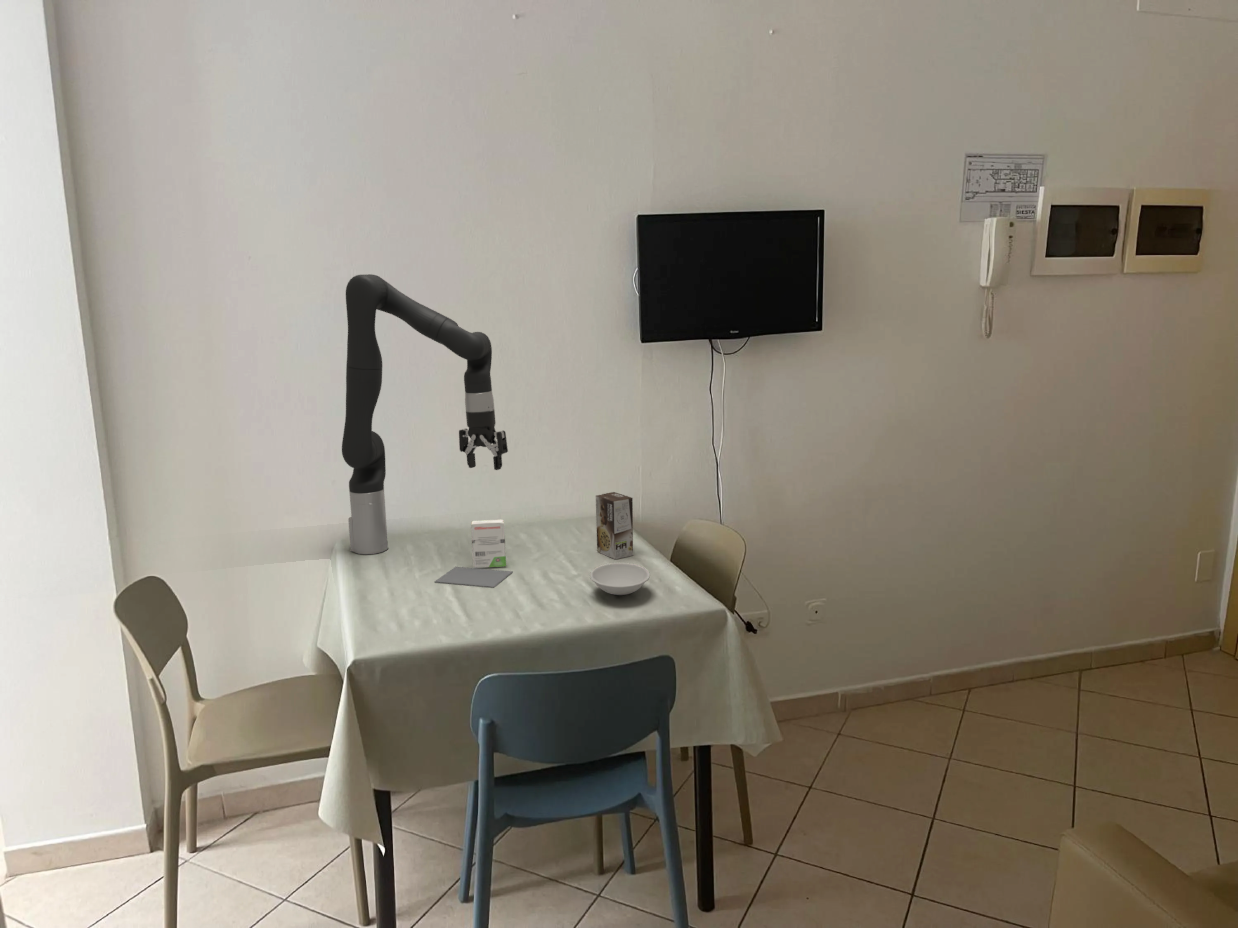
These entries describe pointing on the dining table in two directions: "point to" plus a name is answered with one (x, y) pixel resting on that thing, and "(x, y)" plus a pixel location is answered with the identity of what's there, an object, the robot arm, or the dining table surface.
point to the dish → (619, 577)
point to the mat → (474, 577)
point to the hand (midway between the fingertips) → (485, 468)
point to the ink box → (488, 543)
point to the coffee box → (614, 525)
